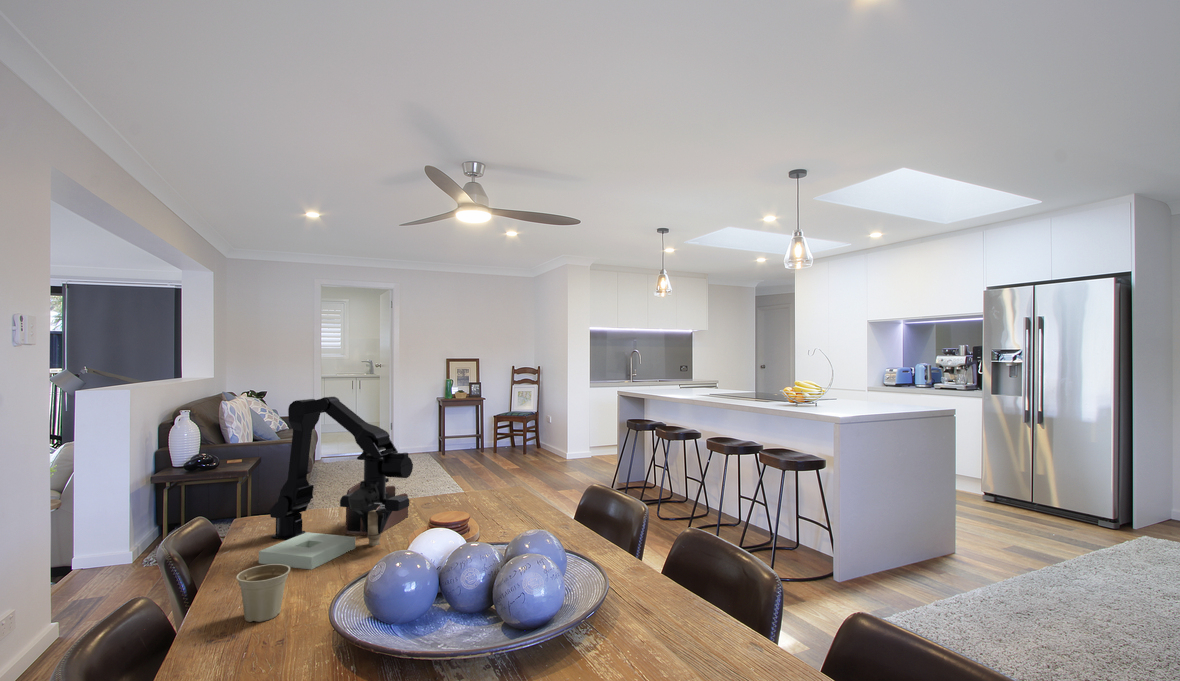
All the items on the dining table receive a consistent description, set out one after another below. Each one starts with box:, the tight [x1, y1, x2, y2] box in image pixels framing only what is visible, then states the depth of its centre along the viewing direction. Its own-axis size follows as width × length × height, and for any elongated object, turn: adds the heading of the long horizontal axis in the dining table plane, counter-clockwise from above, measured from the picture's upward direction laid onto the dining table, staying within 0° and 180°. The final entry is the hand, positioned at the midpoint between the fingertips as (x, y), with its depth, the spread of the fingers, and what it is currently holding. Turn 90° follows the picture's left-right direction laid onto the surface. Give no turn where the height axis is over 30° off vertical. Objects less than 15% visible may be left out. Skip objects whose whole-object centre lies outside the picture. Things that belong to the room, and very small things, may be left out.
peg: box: [367, 510, 382, 547], centre depth 156 cm, size 4×4×9 cm
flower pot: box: [235, 564, 291, 623], centre depth 113 cm, size 9×9×9 cm
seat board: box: [258, 531, 356, 570], centre depth 147 cm, size 16×16×3 cm
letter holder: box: [344, 481, 409, 536], centre depth 174 cm, size 10×20×14 cm, turn 171°
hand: (374, 532), depth 156 cm, fingers closed on peg, 3 cm apart
